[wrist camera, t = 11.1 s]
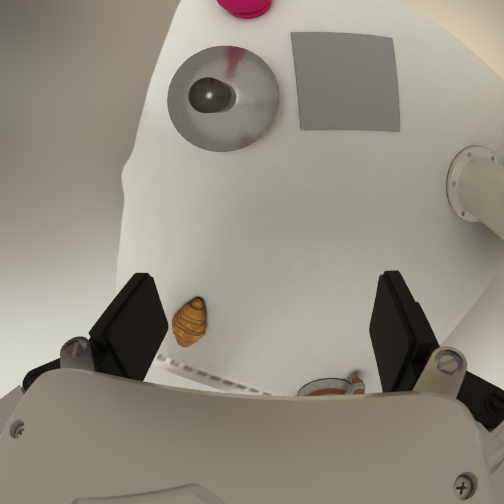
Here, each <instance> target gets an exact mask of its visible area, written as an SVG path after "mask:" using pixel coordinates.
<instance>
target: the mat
mask: <svg viewBox="0 0 504 504" xmlns="http://www.w3.org/2000/svg"><path fill="white" fill-rule="evenodd" d="M291 38H292V46H293V54H294V62H295V71H296V80H297V90H298V100H299V112H300V124H301V130H328V129H342V130H378V131H395V132H400V111H399V93H398V81H397V71H396V62H395V54H394V47H393V40H392V38H389V37H381V36H373V35H363V34H351V33H332V32H294V33H291Z"/></svg>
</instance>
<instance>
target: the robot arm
mask: <svg viewBox="0 0 504 504" xmlns="http://www.w3.org/2000/svg"><path fill="white" fill-rule="evenodd" d="M447 194H448V199H449V202H450V205H451V207H452V209H453V210H454V212H455V213H456V214H457V215H458V216H459V217H461V218H462V219H464V220H465V221H469V222H478V221H481V222H482V223H483V224H484V225H486V226H487V227H488V228H489V229H491V230H492V231H493V232H494V233H496V234H497V235H498V236H499V237H500V238H501V239H503V240H504V166H503V165H501V164H499V161H498V160H497V158H496V156H495V155H494V154H493V153H492V152H491V151H489V150H488V149H486V148H483V147H479V146H472V147H469V148H466V149H464V150H463V151H462V152H460V154H459V155H458V156H457V157H456V158H455V160H454V161H453V163H452V166H451V168H450V171H449V174H448V180H447ZM167 331H168V322H167V319H166V316H165V313H164V310H163V307H162V304H161V301H160V298H159V295H158V292H157V288H156V285H155V282H154V279H153V277H152V276H150V275H149V274H148V273H135V274H134V275H133V276H132V277H131V279H130V280H129V281H128V282H127V284H126V285H125V286H124V287H123V289H122V290H121V291H120V292H119V294H118V295H117V296H116V297H115V299H114V300H113V301H112V302H111V304H110V305H109V306H108V308H107V309H106V310H105V311H104V313H103V314H102V315H101V317H100V318H99V319H98V321H97V322H96V323H95V325H94V326H93V327H92V329H91V330H90V331H89V335H90V339H89V340H88V339H87V338H85V337H74V338H72V339H70V340H68V341H67V342H66V343H65V344H64V345H63V346H62V348H61V351H60V358H58V359H56V360H54V361H52V362H49V363H47V364H45V365H42V366H40V367H38V368H35V369H33V370H31V371H29V372H28V373H27V375H26V376H25V378H24V380H23V385H22V386H23V387H21V386H20V385H19V386H17V387H16V388H15V389H14V390H12V391H11V392H9V393H8V394H7V395H5V396H4V397H3V398H1V399H0V504H504V391H503V390H502V389H500V388H499V387H497V386H495V385H493V384H491V383H489V382H487V381H485V380H483V379H482V378H480V377H478V376H476V375H474V374H472V373H470V372H468V371H466V370H467V361H466V358H465V356H464V355H463V354H462V353H461V352H460V351H459V350H457V349H455V348H453V347H447V346H444V347H440V346H439V344H438V341H437V339H436V337H435V335H434V333H433V331H432V328H431V326H430V324H429V322H428V320H427V318H426V316H425V314H424V312H423V310H422V308H421V306H420V304H419V303H418V302H415V300H414V298H413V296H412V294H411V292H410V290H409V289H408V287H407V285H406V283H405V281H404V279H403V277H402V275H401V274H400V272H399V271H398V270H397V271H385V272H384V274H383V275H380V276H379V281H378V287H377V292H376V298H375V303H374V308H373V313H372V317H371V322H370V327H369V332H370V337H371V341H372V345H373V349H374V353H375V358H376V362H377V367H378V371H379V376H380V380H381V385H382V390H383V393H372V394H357V395H336V396H264V395H245V394H232V393H220V392H211V391H202V390H194V389H186V388H179V387H172V386H166V385H160V384H154V383H149V382H143V380H144V378H145V376H146V374H147V372H148V370H149V368H150V366H151V364H152V362H153V359H154V357H155V355H156V353H157V351H158V349H159V347H160V345H161V343H162V341H163V339H164V337H165V335H166V333H167Z"/></svg>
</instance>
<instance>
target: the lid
mask: <svg viewBox="0 0 504 504" xmlns="http://www.w3.org/2000/svg"><path fill="white" fill-rule="evenodd" d="M167 102H168V111H169V115H170V118H171V120H172V122H173V124H174V126H175V128H176V129H177V131H178V132H179V133H180V134H181V135H182V137H184V138H185V139H186V140H187V141H189V142H190V143H192V144H193V145H195V146H197V147H199V148H202V149H205V150H209V151H216V152H227V151H233V150H237V149H240V148H243V147H245V146H248V145H249V144H251V143H253V142H254V141H256V140H257V139H258V138H260V137H261V136H262V135H263V134H264V133H265V132H266V131H267V129H268V128H269V127H270V125H271V124H272V122H273V120H274V118H275V116H276V113H277V110H278V106H279V89H278V84H277V81H276V78H275V76H274V74H273V72H272V71H271V69H270V68H269V66H268V65H267V64H266V63H265V62H264V61H263V60H262V59H261V58H260V57H258V56H257V55H256V54H254V53H252V52H250V51H248V50H246V49H243V48H239V47H234V46H216V47H211V48H207V49H205V50H202V51H200V52H198V53H196V54H194V55H193V56H191V57H190V58H188V59H187V60H186V61H185V62H184V63H183V64H182V65H181V66H180V67H179V69H178V70H177V72H176V73H175V75H174V77H173V79H172V81H171V84H170V86H169V91H168V99H167Z"/></svg>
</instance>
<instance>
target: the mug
mask: <svg viewBox="0 0 504 504" xmlns="http://www.w3.org/2000/svg"><path fill="white" fill-rule="evenodd" d="M352 384H353V386H352V385H351V384H350V383H348V382H346V381H343V380H339V379H323V380H318V381H315V382H312V383H310V384H308V385H306V386H305V387H304V388H302V389H301V390H300V391H299V393H298V395H297V396H336V395H357V394H365V393H364V392H365V384H364V383H363V381H362V380H361V379H360V378H358V377H356V378H354V379H353V380H352Z"/></svg>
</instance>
